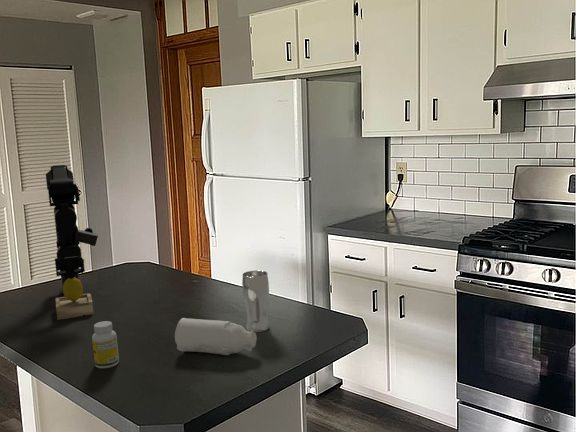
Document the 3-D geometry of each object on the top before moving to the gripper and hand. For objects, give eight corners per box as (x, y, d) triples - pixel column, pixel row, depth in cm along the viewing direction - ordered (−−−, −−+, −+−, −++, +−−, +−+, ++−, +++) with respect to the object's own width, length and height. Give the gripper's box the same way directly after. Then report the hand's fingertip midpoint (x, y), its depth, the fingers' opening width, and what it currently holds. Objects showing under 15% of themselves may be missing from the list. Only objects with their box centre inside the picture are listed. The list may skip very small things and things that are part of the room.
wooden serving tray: (56, 309, 174) (55, 298, 173) (91, 304, 178) (90, 293, 177) (57, 319, 165) (56, 307, 164) (93, 314, 168) (92, 301, 168)
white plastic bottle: (248, 363, 129) (246, 330, 128) (174, 356, 135) (172, 324, 134) (260, 350, 137) (259, 318, 136) (190, 343, 143) (188, 313, 141)
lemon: (77, 305, 168) (74, 279, 166) (60, 305, 169) (57, 278, 167) (87, 299, 173) (85, 274, 172) (71, 299, 174) (68, 273, 173)
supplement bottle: (98, 360, 134) (94, 320, 133) (121, 358, 135) (117, 319, 133) (92, 370, 129) (88, 328, 128) (116, 368, 130) (112, 327, 128)
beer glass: (274, 324, 153) (272, 270, 151) (265, 334, 147) (262, 277, 144) (250, 322, 156) (247, 269, 153) (240, 331, 149) (237, 276, 147)
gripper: (97, 225, 161) (102, 278, 164) (92, 216, 178) (97, 265, 181) (54, 229, 157) (60, 284, 159) (54, 220, 174) (59, 269, 176)
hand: (71, 275), depth 169 cm, fingers open, 9 cm apart
